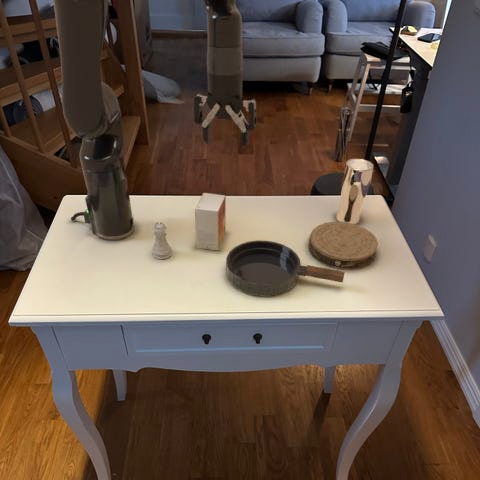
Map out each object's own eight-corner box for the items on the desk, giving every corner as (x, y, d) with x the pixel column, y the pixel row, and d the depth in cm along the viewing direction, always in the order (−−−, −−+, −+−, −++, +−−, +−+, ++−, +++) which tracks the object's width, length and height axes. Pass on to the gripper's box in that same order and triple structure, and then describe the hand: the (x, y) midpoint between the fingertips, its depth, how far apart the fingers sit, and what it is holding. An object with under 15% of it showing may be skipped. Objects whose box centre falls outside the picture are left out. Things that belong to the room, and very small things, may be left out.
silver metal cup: (334, 211, 122) (344, 157, 111) (360, 213, 121) (373, 159, 111) (334, 224, 117) (345, 169, 106) (361, 227, 116) (375, 171, 106)
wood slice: (311, 228, 115) (313, 217, 113) (374, 236, 113) (377, 226, 111) (305, 264, 104) (307, 253, 101) (375, 274, 102) (378, 263, 99)
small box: (218, 251, 106) (218, 211, 99) (195, 248, 107) (193, 208, 100) (226, 233, 112) (226, 194, 105) (204, 230, 113) (203, 191, 105)
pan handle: (296, 274, 97) (297, 268, 96) (298, 268, 98) (299, 262, 97) (342, 283, 95) (343, 277, 94) (343, 276, 97) (344, 271, 95)
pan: (216, 288, 96) (216, 275, 94) (237, 247, 108) (237, 235, 105) (291, 303, 93) (293, 290, 91) (304, 260, 105) (306, 247, 102)
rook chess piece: (175, 252, 106) (173, 222, 100) (165, 262, 103) (162, 232, 97) (159, 247, 107) (156, 217, 101) (148, 257, 104) (144, 226, 98)
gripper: (261, 67, 96) (258, 142, 108) (199, 61, 99) (202, 135, 110) (252, 76, 91) (250, 155, 102) (186, 70, 94) (191, 147, 105)
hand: (225, 144), depth 106 cm, fingers open, 8 cm apart
